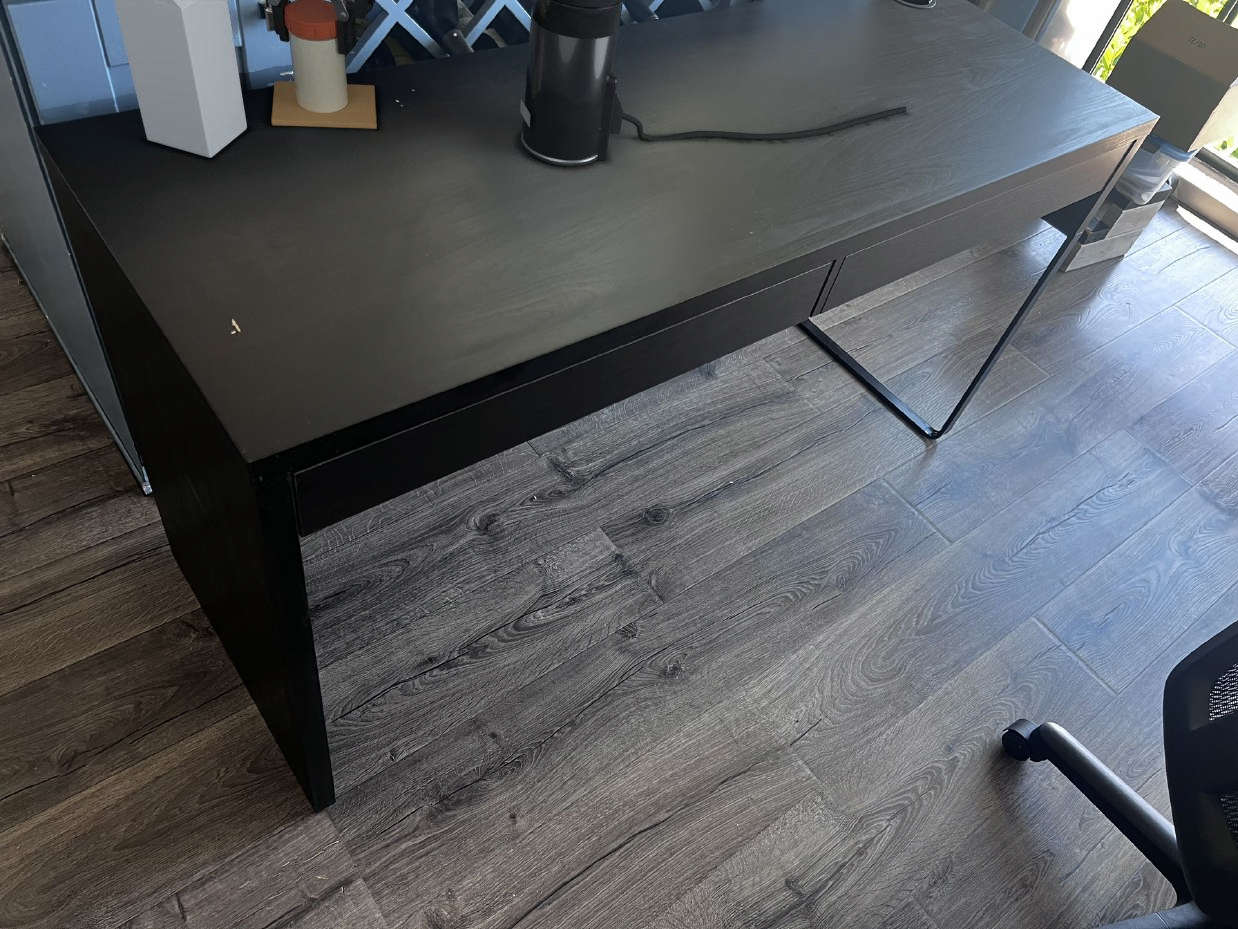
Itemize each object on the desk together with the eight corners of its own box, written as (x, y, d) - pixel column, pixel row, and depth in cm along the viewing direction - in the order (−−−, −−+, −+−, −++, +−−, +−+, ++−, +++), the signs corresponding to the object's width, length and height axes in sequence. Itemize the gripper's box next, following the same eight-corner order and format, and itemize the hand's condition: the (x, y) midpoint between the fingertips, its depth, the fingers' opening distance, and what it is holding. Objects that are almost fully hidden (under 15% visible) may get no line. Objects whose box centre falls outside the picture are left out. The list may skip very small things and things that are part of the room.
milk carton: (248, 129, 100) (218, -63, 87) (210, 160, 96) (173, -39, 82) (187, 112, 101) (148, -82, 87) (147, 141, 96) (98, -58, 82)
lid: (333, 12, 102) (332, -4, 101) (352, 36, 99) (351, 20, 98) (279, 17, 100) (277, 0, 98) (296, 42, 97) (294, 25, 95)
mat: (374, 90, 110) (374, 85, 110) (376, 129, 104) (376, 123, 104) (275, 85, 107) (274, 80, 107) (271, 125, 102) (271, 120, 101)
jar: (348, 89, 108) (342, 5, 101) (348, 114, 104) (342, 29, 97) (296, 86, 107) (287, 2, 100) (295, 112, 103) (285, 26, 96)
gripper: (389, -127, 91) (393, 46, 103) (244, -160, 91) (265, 17, 103) (362, -104, 86) (369, 75, 98) (208, -139, 86) (235, 44, 98)
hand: (316, 44), depth 101 cm, fingers closed on lid, 5 cm apart
